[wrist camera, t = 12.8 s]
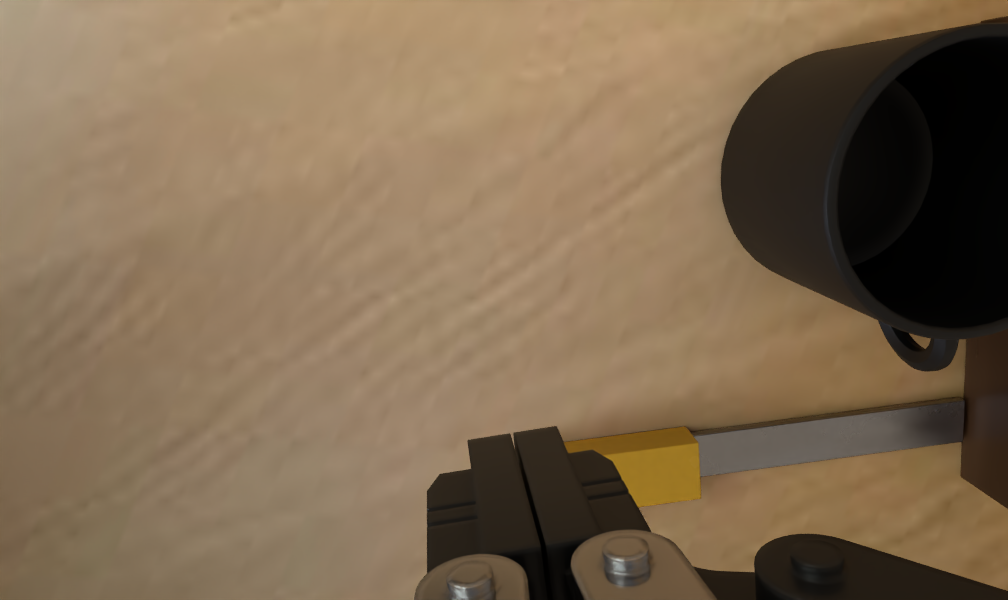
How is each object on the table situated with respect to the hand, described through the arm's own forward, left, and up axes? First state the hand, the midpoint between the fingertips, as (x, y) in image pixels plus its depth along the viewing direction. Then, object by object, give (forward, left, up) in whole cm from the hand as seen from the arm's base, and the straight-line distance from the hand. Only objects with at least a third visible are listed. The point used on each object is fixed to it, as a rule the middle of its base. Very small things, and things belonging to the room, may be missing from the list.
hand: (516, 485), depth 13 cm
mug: (+15, +1, -19) cm, 25 cm away
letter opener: (+11, -9, -19) cm, 24 cm away
